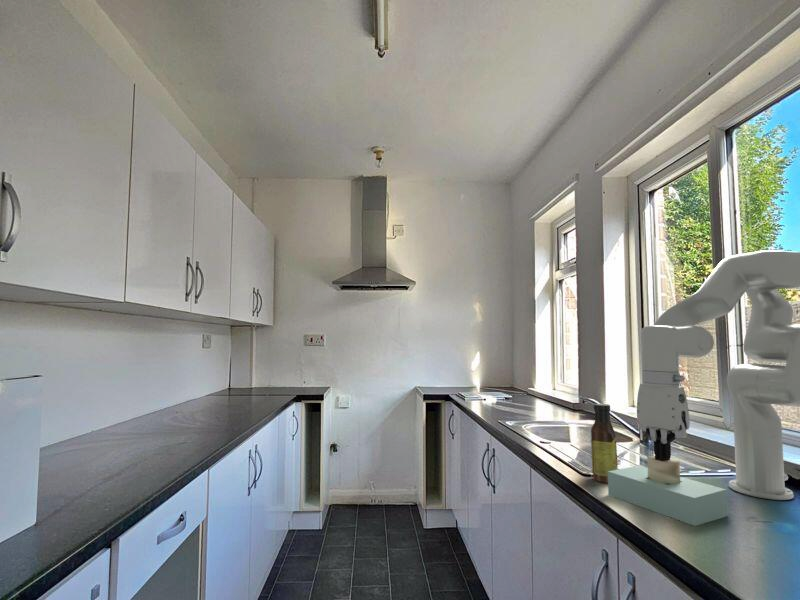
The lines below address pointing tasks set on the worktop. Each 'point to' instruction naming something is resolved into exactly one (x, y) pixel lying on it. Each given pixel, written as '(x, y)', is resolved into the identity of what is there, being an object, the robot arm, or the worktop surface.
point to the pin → (663, 470)
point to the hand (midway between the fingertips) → (662, 459)
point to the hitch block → (669, 496)
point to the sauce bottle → (603, 444)
